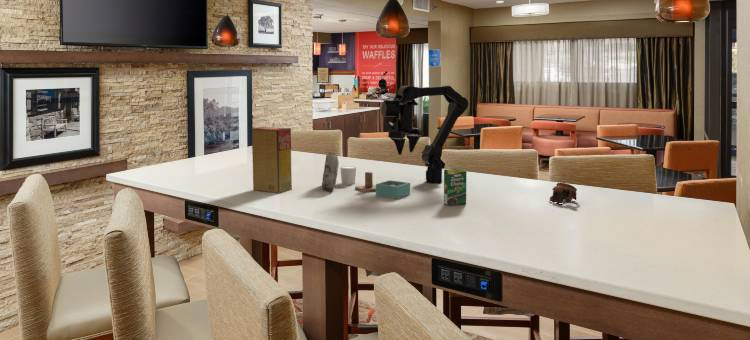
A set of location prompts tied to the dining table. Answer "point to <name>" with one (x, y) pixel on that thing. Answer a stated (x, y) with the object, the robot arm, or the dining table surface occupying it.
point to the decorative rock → (330, 171)
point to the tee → (367, 183)
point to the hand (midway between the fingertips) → (405, 153)
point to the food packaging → (271, 159)
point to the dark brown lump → (563, 193)
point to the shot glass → (348, 174)
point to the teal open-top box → (393, 189)
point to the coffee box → (454, 186)
